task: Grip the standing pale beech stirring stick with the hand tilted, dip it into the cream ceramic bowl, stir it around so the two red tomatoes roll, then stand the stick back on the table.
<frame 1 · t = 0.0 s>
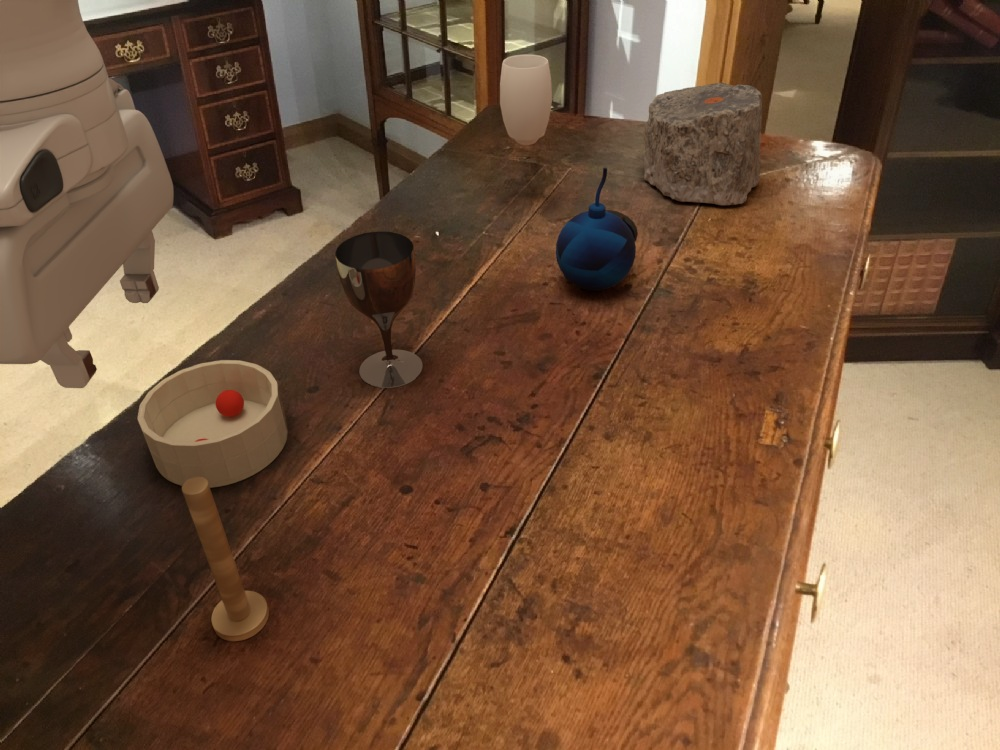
hand: (114, 336, 55), 26 cm above the sideboard, tool pointing down, fingers open, 8 cm apart
cup: (527, 203, 128), on the sideboard
bomb: (596, 284, 108), on the sideboard
tomato a: (229, 403, 88), point 2 cm above the sideboard, touching bowl
petrified wood: (699, 183, 131), on the sideboard
stick: (241, 618, 69), on the sideboard
bowl: (221, 442, 86), on the sideboard
tomato b: (203, 453, 82), point 2 cm above the sideboard, touching bowl
wine glass: (391, 369, 95), on the sideboard
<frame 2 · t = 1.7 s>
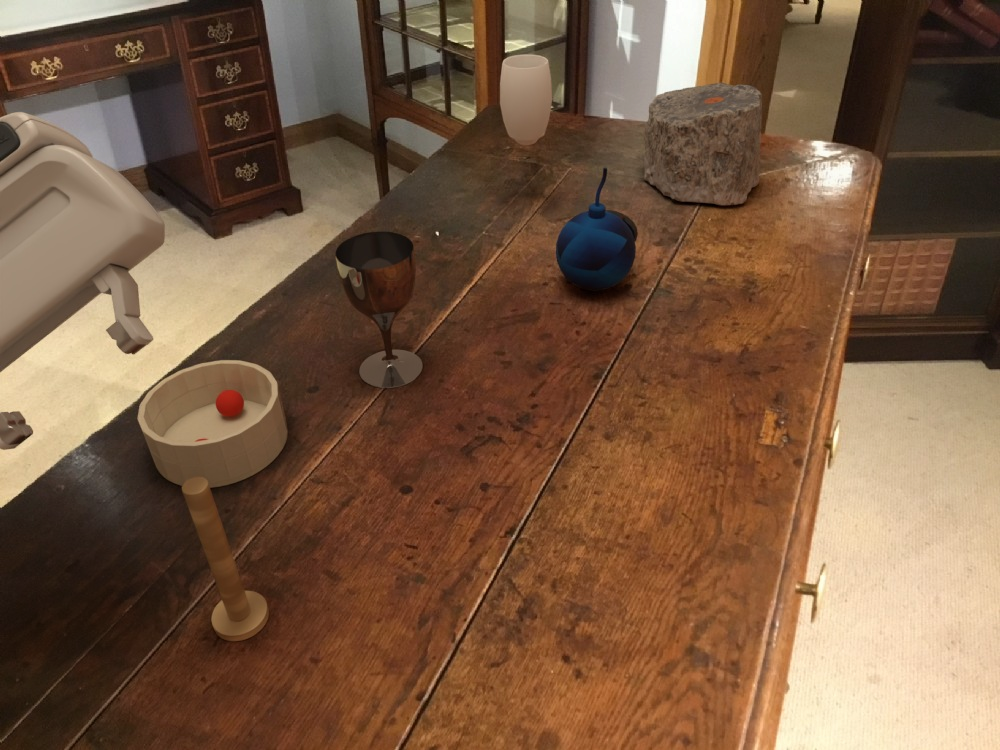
hand: (78, 394, 51), 26 cm above the sideboard, tool tilted 50°, fingers open, 8 cm apart
nothing on the sideboard moved.
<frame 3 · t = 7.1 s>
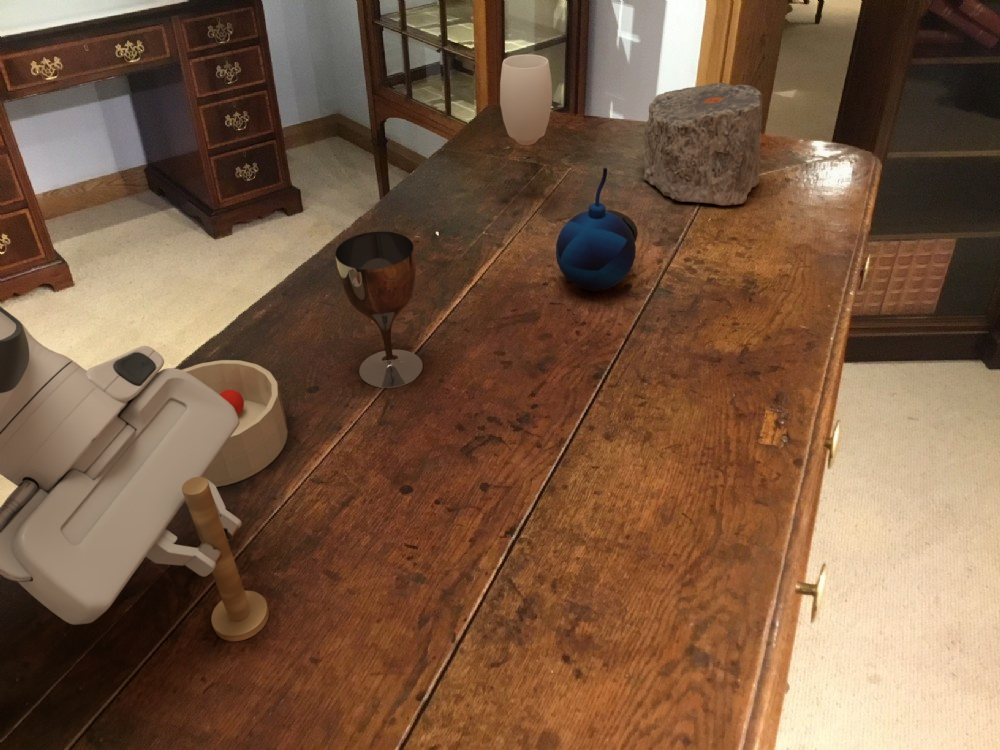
hand: (224, 549, 64), 8 cm above the sideboard, tool tilted 45°, fingers closed on stick, 2 cm apart
stick: (241, 618, 69), on the sideboard, touching gripper
everything else where it was.
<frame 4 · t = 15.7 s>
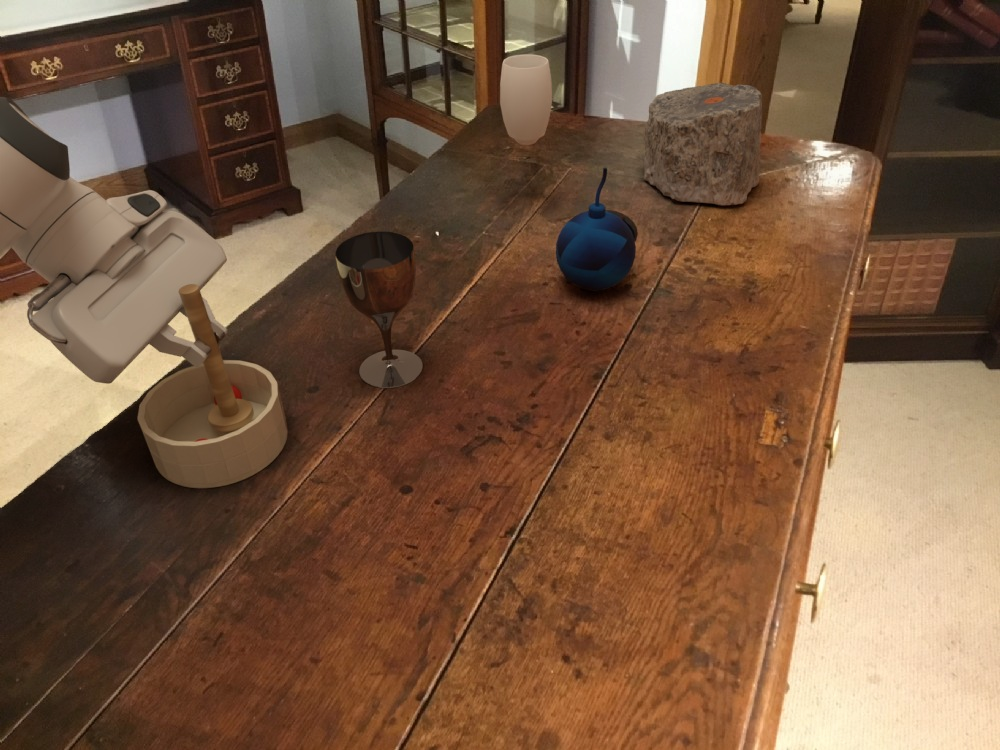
hand: (213, 349, 81), 10 cm above the sideboard, tool tilted 45°, fingers closed on stick, 2 cm apart
tomato a: (228, 398, 89), point 2 cm above the sideboard, tilted 34°, touching bowl, stick
stick: (232, 417, 86), point 2 cm above the sideboard, touching gripper, tomato a
everything else where it was.
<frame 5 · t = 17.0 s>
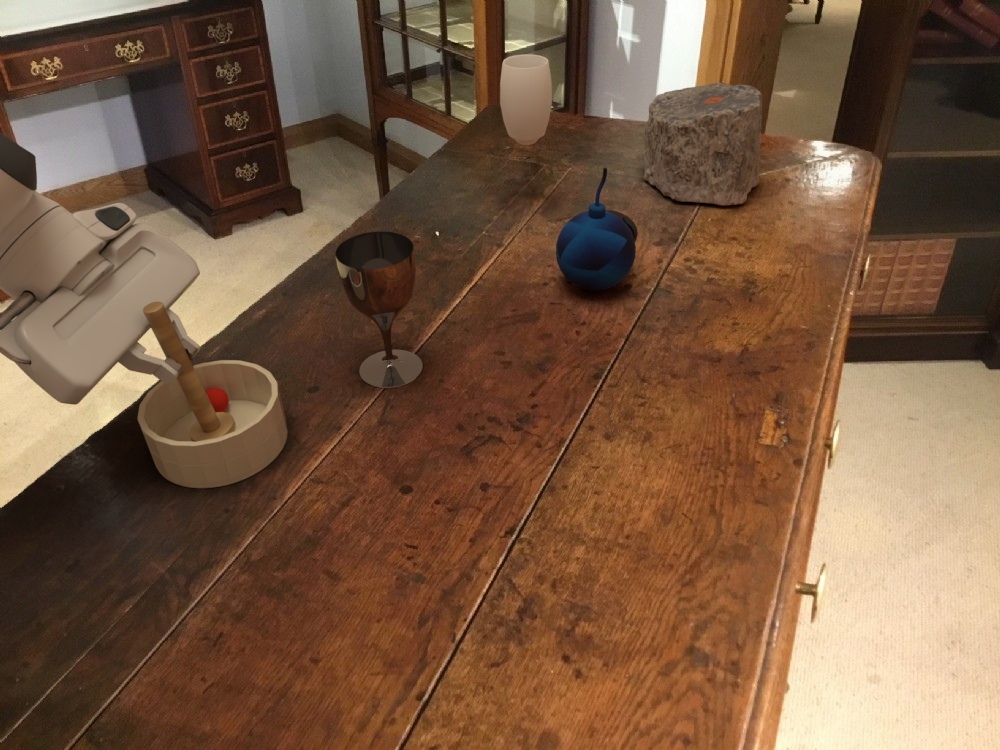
hand: (185, 366, 79), 11 cm above the sideboard, tool tilted 45°, fingers closed on stick, 2 cm apart
tomato a: (214, 400, 88), point 2 cm above the sideboard, tilted 41°, touching bowl
stick: (214, 432, 84), point 2 cm above the sideboard, tilted 7°, touching gripper, tomato b
tomato b: (203, 458, 81), point 2 cm above the sideboard, tilted 34°, touching bowl, stick
everything else where it was.
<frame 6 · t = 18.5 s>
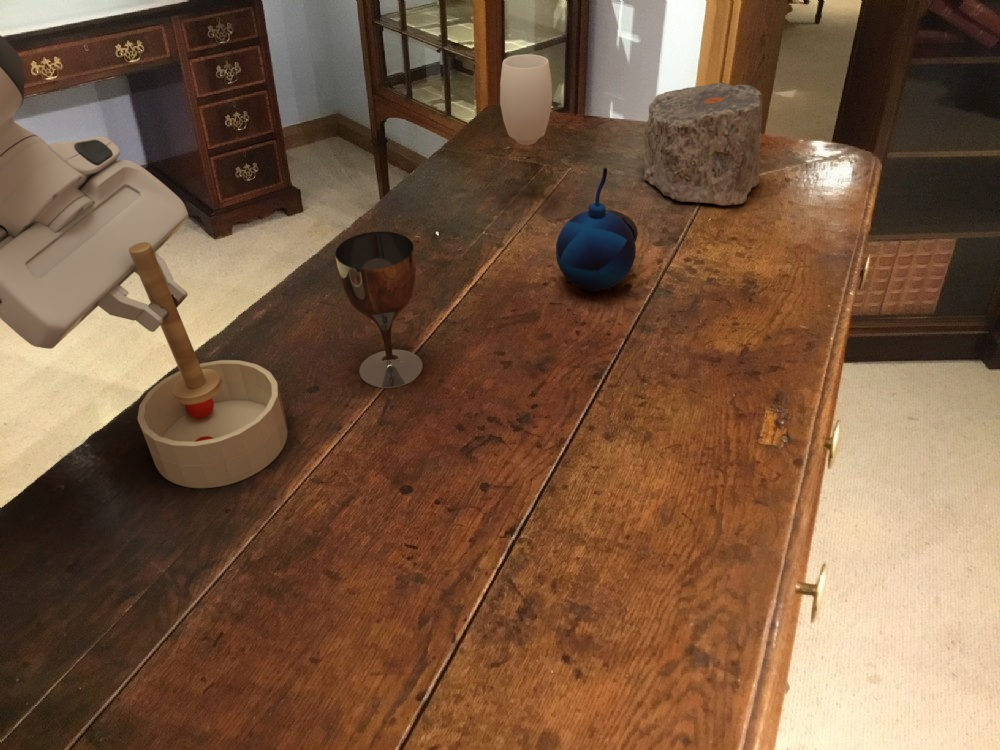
hand: (171, 313, 74), 17 cm above the sideboard, tool tilted 45°, fingers closed on stick
tomato a: (199, 405, 88), point 2 cm above the sideboard, tilted 88°, touching bowl
stick: (198, 389, 79), point 9 cm above the sideboard, touching gripper
tomato b: (206, 450, 82), point 2 cm above the sideboard, tilted 28°, touching bowl
everything else where it was.
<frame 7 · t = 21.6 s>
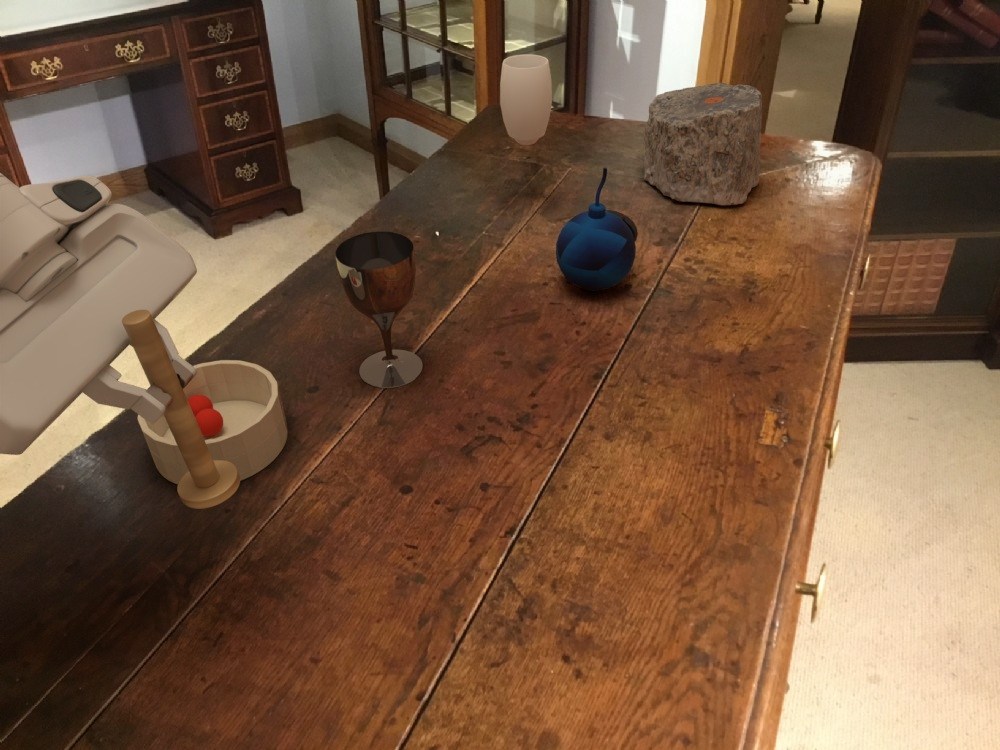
hand: (176, 397, 58), 21 cm above the sideboard, tool tilted 45°, fingers closed on stick
tomato a: (198, 408, 88), point 2 cm above the sideboard, tilted 82°, touching bowl
stick: (210, 487, 63), point 13 cm above the sideboard, tilted 5°, touching gripper
tomato b: (208, 422, 86), point 2 cm above the sideboard, tilted 150°, touching bowl
everything else where it was.
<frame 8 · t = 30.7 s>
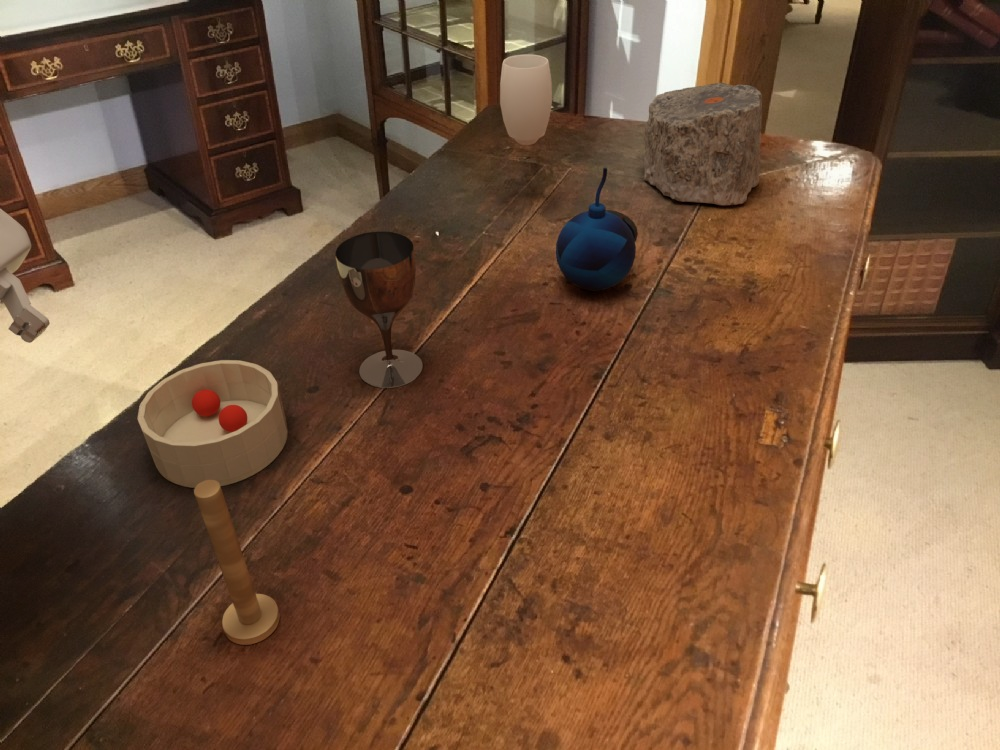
tomato a: (206, 402, 88), point 2 cm above the sideboard, tilted 68°, touching bowl
stick: (252, 621, 69), on the sideboard
tomato b: (233, 418, 86), point 2 cm above the sideboard, tilted 71°, touching bowl
everything else where it was.
at the end: tomato a moved 2.5 cm from its start; tomato a inside the target area in the bowl (4.5 cm from its centre), point 2.0 cm above the bowl's base; stick tilted 0° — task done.
